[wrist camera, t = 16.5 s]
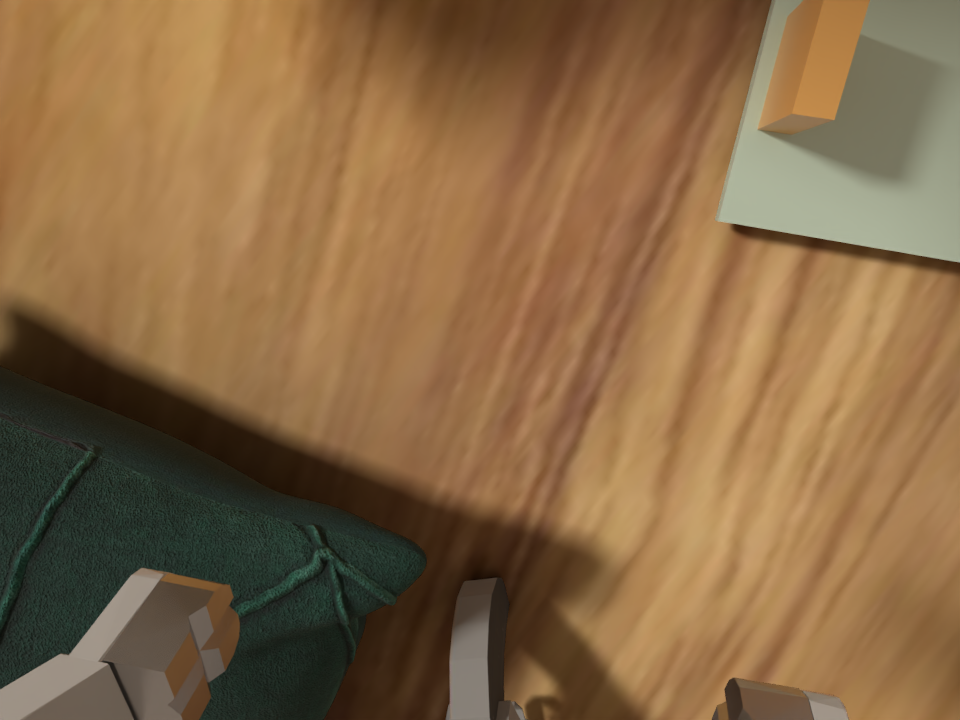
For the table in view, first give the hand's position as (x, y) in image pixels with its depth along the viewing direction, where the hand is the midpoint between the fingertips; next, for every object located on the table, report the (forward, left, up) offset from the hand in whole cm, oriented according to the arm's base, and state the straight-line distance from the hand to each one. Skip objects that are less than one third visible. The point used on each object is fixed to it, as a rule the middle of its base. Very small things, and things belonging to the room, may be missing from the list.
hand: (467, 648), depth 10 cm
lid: (+5, +21, -28) cm, 35 cm away
